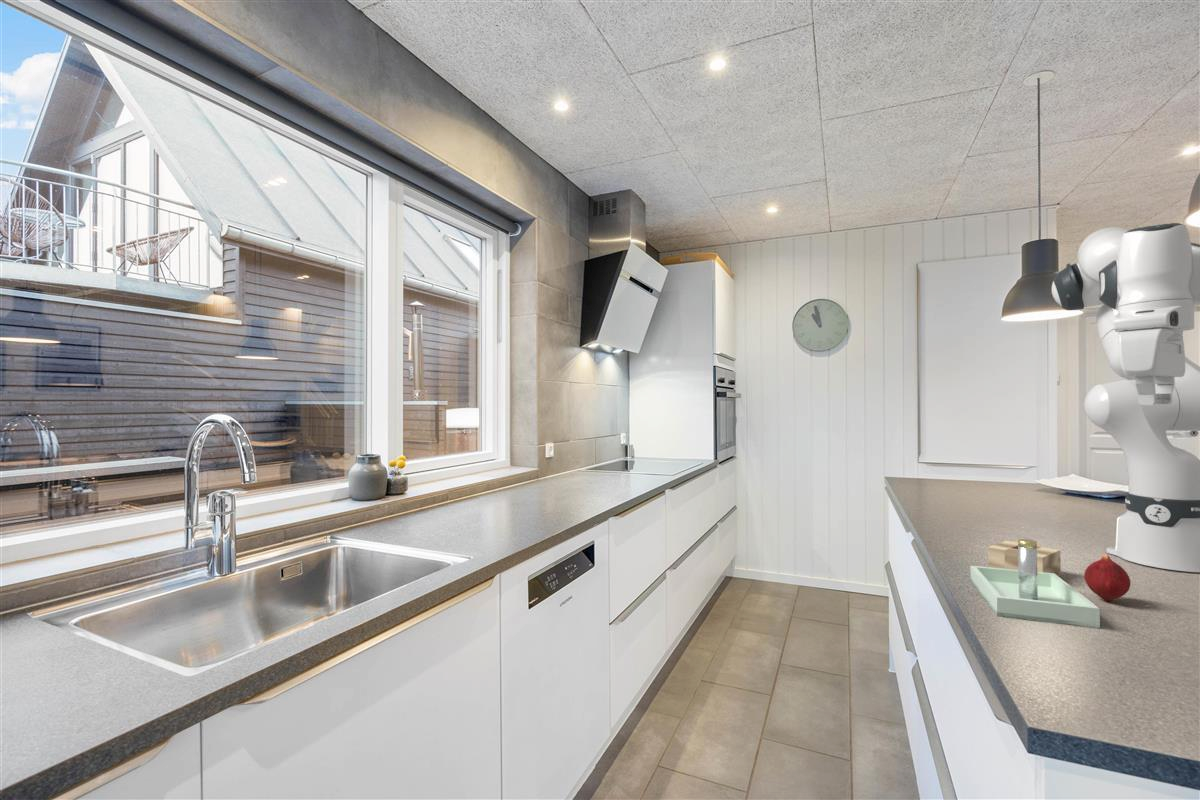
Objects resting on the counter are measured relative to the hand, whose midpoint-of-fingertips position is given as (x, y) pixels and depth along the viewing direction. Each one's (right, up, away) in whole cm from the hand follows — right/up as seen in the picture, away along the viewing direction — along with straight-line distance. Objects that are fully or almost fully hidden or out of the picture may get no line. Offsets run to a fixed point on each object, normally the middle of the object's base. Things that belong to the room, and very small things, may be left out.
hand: (1155, 404), depth 89 cm
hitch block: (-7, -34, +19) cm, 40 cm away
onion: (-4, -34, +4) cm, 35 cm away
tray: (-18, -34, +4) cm, 39 cm away
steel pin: (-18, -34, +4) cm, 38 cm away
